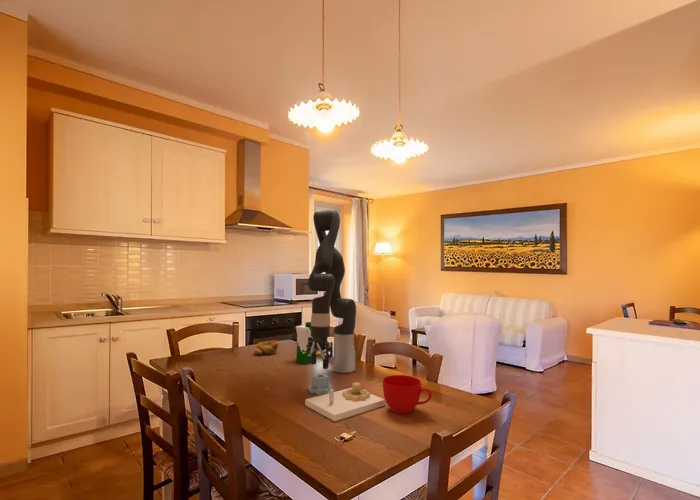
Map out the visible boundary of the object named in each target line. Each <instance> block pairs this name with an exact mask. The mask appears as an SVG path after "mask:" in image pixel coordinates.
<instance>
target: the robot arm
mask: <svg viewBox="0 0 700 500" xmlns="http://www.w3.org/2000/svg"><path fill="white" fill-rule="evenodd" d="M312 220H313V224H314V229H315V232H316V233H315V234H316V236H317V239H318V243H319V245H318V247H317V249H316V252H315V261H314V264H313V265H314V266H313V269H312V270H311V273H310V275H309V277H308V280H307V286H308V288H309V290H310V291H311V292H325V294H323V295H322V296H318V297H314V298H312V302H311V317H310V322H311V337H308V349H307V351H308V352H310V354H311V364H310V365H316V364H317V354H316V353H317V351H320V354H319V355H321V357H322V369H323V370H327V369H329V366H330V359H332V358H333V372H335V373H338V374H349V373H353V372H354V371H356V349H355V348H354V347H355V345H354V344H355V339H354V338H355V337H354V336H355V328H356V320H357V319H356V317H357V306H356V302H355V300H354V299H351V298H343V297H342V295H341V284H342V282H343V279H344V277H345V273H346V268H345V263H344V262H345V261H344V259H343V255H342V254H341V253H340V251H339V250H338V249H337V248H336V247H335V245H336V241H337V238H338V234H339V229H340V225H341V224H340V223H341V217H340V213H339V212H338V210H337V209H336V208H332V209H324V210H323V209H322V210H318V211H317V210H316V211H314V214H313V219H312ZM327 231H328V232H327ZM326 232H327V233H326ZM330 313H331V314H332V316H333V317H335V318H337V319H342V323H341V324H339V325H336V326H334V328H333V341H328V338H329V337H330V336H331V333H330V332H331V314H330ZM310 346H312V347H311V349H310Z"/></svg>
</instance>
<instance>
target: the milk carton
mask: <svg viewBox="0 0 700 500" xmlns="http://www.w3.org/2000/svg"><path fill="white" fill-rule="evenodd" d="M295 330H296V358H295V363H297V364H302V365H312V364H311V354H310V352H308V351H307V349H308V337H311V321H307V322H305V324H301V325H296V326H295ZM311 347H312V346H310V349H311Z"/></svg>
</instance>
